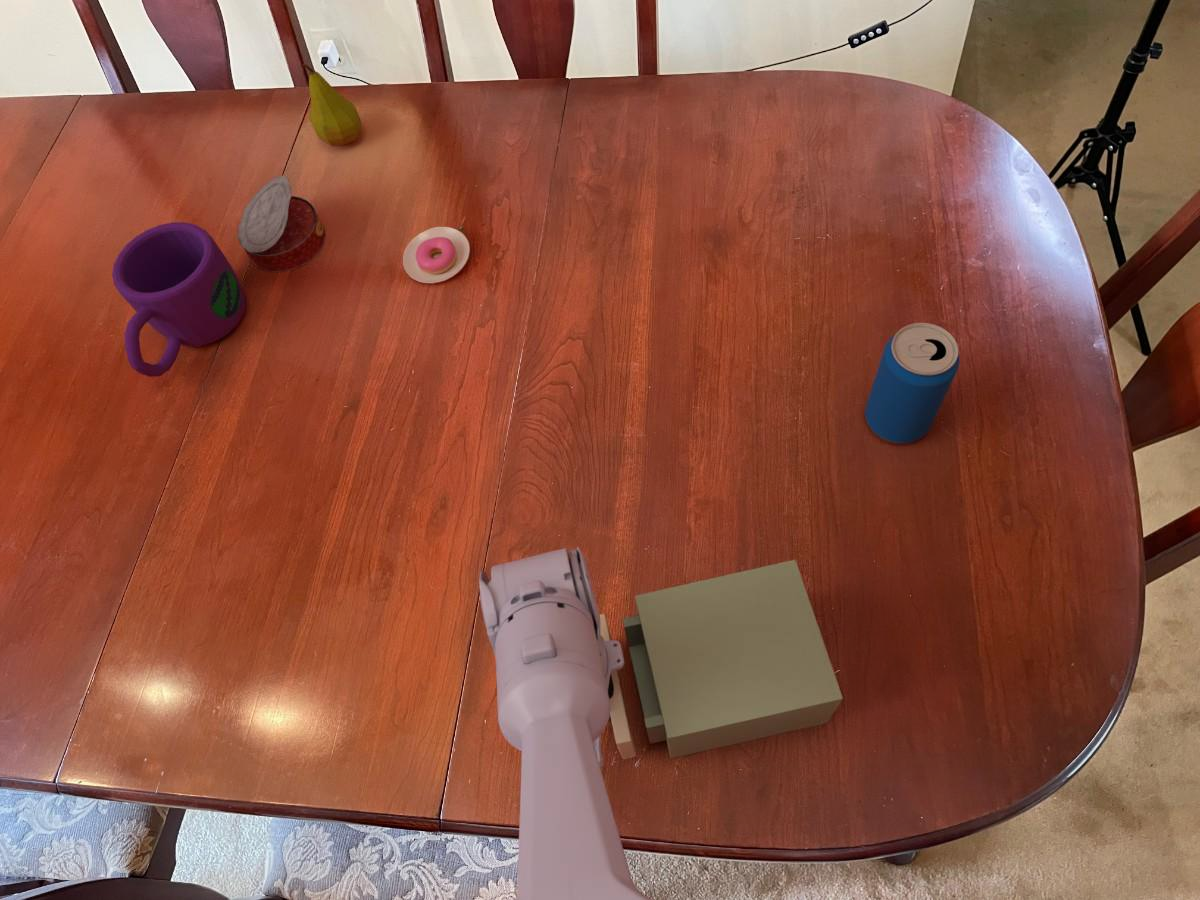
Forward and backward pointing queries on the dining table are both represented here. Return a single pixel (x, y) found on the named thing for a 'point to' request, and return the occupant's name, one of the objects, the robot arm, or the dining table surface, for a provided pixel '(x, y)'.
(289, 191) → the canned food
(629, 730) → the drawer
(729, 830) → the dining table surface
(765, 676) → the cabinet
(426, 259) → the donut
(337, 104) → the fruit
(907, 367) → the beverage can
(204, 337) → the mug
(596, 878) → the robot arm
